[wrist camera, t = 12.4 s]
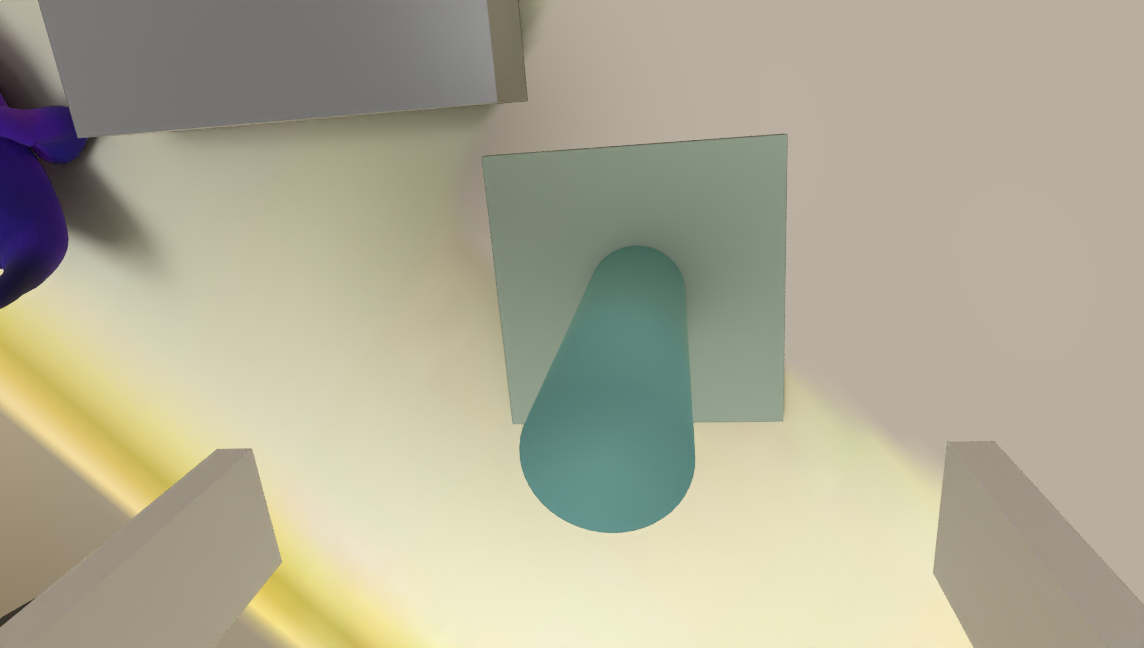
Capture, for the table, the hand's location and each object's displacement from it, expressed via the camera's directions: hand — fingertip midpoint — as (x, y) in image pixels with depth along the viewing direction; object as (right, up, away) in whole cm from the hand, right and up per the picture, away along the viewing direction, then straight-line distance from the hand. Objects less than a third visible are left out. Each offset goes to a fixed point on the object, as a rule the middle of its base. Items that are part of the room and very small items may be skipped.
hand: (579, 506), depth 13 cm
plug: (+3, +5, +16) cm, 17 cm away
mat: (+3, +5, +16) cm, 17 cm away
